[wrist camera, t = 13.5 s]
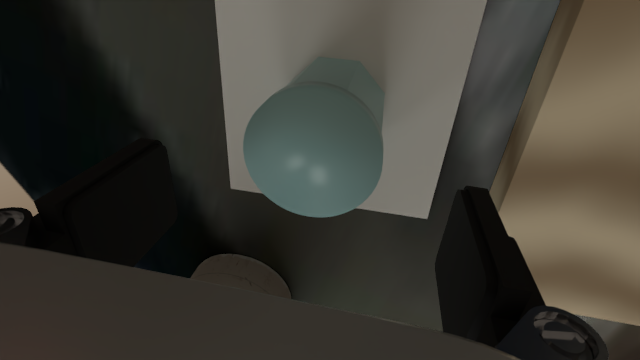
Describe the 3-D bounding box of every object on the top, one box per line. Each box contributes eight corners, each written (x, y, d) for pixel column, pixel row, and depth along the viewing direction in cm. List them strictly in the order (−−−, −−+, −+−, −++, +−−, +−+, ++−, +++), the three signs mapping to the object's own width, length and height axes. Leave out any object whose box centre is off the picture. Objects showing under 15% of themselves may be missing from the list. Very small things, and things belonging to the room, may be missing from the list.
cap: (394, 59, 16) (394, 98, 11) (377, 159, 19) (372, 227, 14) (286, 49, 17) (239, 80, 12) (285, 146, 19) (246, 206, 14)
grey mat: (426, 213, 21) (427, 218, 20) (234, 183, 22) (230, 188, 22) (488, -19, 15) (492, -19, 14) (217, -38, 16) (211, -39, 16)
